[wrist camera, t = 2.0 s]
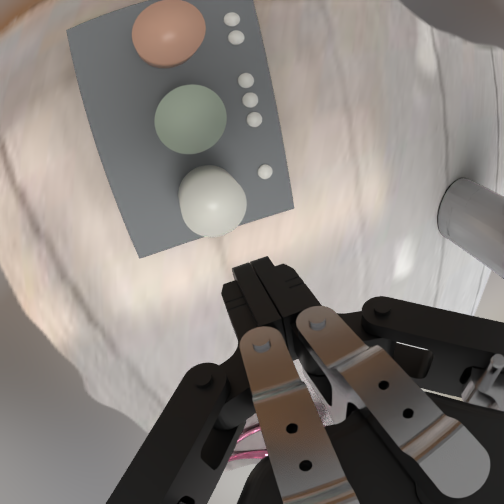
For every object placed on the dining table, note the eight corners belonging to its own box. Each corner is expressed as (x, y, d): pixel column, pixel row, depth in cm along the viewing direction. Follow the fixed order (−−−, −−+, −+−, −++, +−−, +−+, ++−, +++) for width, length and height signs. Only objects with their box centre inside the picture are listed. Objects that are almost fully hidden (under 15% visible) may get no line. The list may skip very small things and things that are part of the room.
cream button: (229, 157, 22) (238, 166, 19) (241, 210, 24) (252, 225, 22) (170, 175, 21) (172, 186, 19) (187, 228, 24) (192, 245, 21)
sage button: (210, 79, 19) (218, 76, 16) (224, 137, 21) (233, 143, 18) (148, 97, 18) (146, 96, 16) (164, 155, 20) (165, 163, 18)
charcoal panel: (241, -10, 18) (249, -18, 16) (285, 201, 29) (295, 209, 27) (73, 34, 16) (65, 29, 14) (140, 247, 27) (139, 259, 25)
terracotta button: (192, 5, 16) (198, -8, 13) (205, 59, 18) (212, 53, 15) (130, 22, 15) (125, 10, 12) (143, 76, 17) (140, 72, 15)
